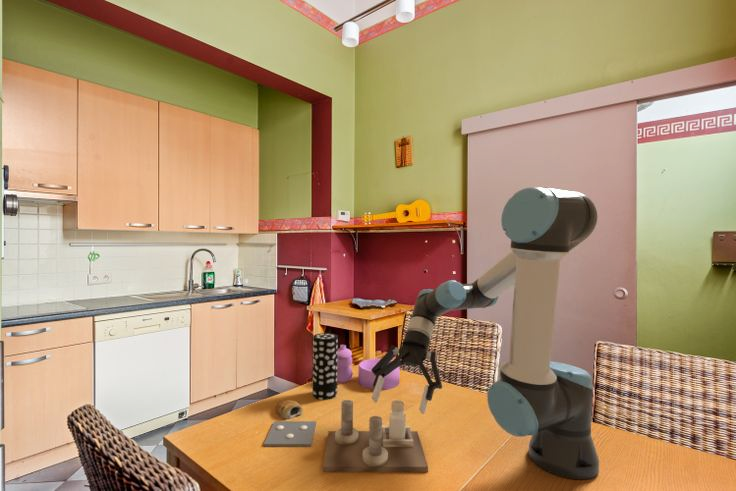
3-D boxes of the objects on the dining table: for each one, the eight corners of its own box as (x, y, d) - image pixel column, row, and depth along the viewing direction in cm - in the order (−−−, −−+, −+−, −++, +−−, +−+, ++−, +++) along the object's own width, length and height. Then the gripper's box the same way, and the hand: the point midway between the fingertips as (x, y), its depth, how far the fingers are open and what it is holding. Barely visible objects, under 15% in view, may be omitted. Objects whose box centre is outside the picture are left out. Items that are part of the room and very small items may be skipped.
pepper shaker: (388, 442, 97) (389, 405, 97) (390, 434, 101) (390, 398, 100) (404, 443, 96) (405, 406, 96) (405, 435, 100) (405, 400, 100)
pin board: (417, 435, 102) (417, 396, 102) (427, 471, 86) (428, 425, 86) (328, 435, 102) (329, 396, 102) (323, 471, 86) (323, 425, 86)
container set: (399, 375, 148) (399, 342, 148) (399, 391, 133) (399, 353, 133) (336, 373, 150) (336, 340, 150) (329, 388, 135) (329, 351, 135)
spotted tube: (332, 401, 124) (333, 340, 123) (308, 398, 125) (309, 338, 125) (339, 391, 132) (340, 334, 132) (317, 388, 134) (317, 332, 133)
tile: (316, 423, 108) (316, 420, 108) (310, 446, 97) (310, 442, 96) (274, 423, 108) (274, 420, 108) (263, 446, 96) (263, 442, 96)
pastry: (270, 410, 117) (270, 398, 117) (289, 404, 121) (289, 392, 121) (285, 421, 110) (285, 408, 110) (305, 414, 114) (305, 402, 114)
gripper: (462, 348, 109) (446, 422, 96) (384, 337, 120) (360, 401, 107) (457, 334, 104) (440, 410, 91) (376, 324, 116) (351, 389, 103)
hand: (397, 405), depth 99 cm, fingers open, 13 cm apart
